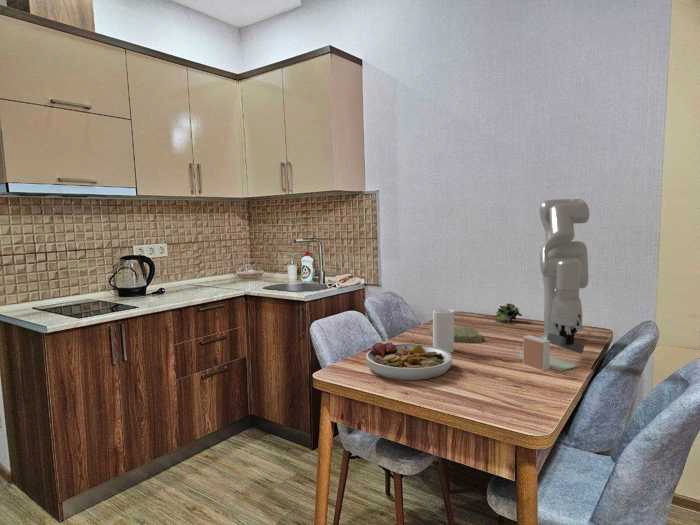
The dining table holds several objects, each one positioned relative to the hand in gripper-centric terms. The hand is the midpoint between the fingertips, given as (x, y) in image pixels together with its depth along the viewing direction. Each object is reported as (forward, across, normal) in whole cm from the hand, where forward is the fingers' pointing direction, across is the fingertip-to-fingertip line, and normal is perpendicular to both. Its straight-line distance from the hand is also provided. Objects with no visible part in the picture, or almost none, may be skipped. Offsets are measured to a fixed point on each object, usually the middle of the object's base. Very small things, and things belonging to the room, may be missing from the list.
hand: (566, 343), depth 168 cm
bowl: (+7, -20, -55) cm, 59 cm away
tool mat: (+6, -2, -8) cm, 10 cm away
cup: (+6, -32, -31) cm, 45 cm away
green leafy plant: (+6, -56, +28) cm, 63 cm away
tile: (+6, 0, -15) cm, 16 cm away
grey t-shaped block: (+2, 0, +1) cm, 2 cm away
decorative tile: (+7, -46, -14) cm, 49 cm away
